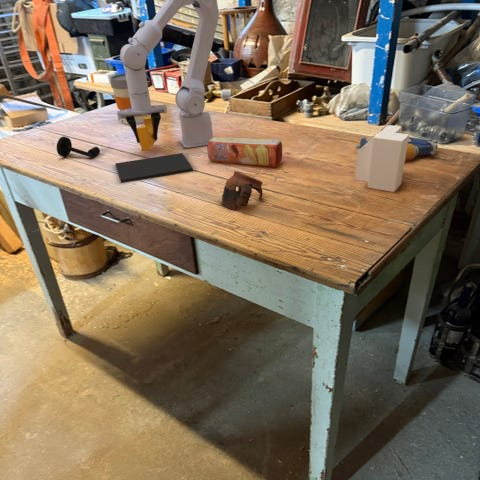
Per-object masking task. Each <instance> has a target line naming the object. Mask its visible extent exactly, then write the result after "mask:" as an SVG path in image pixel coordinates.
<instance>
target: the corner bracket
mask: <svg viewBox="0 0 480 480" xmlns="http://www.w3.org/2000/svg"><path fill="white" fill-rule="evenodd" d="M402 128H403V126H402V125H401V126H400V125H391V124H388V125H386V126H385V127H384V128H383V129H381V131H379V132H377V134H375V135H374V136H375V137H373V138H372V139H371V140H370V141H368V142H367V143H366V144H365V145H364V146H363V147H361V148H360V149H359V148H358V149H357V151H356V160H355V171H354V181H360V182H365V183H367V188H369V189H374V190H380V191H381V190H382V191H386V192H390V193H391V192H392V193H395V192H396V191H397V189H398V188H399V187H400V186H401V185H402V182H403V181H402V180H403V175H404V168H405V164H406V161H405V157H406V151H407V145H408V139H409V137H410V134H408V133H402Z"/></svg>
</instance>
